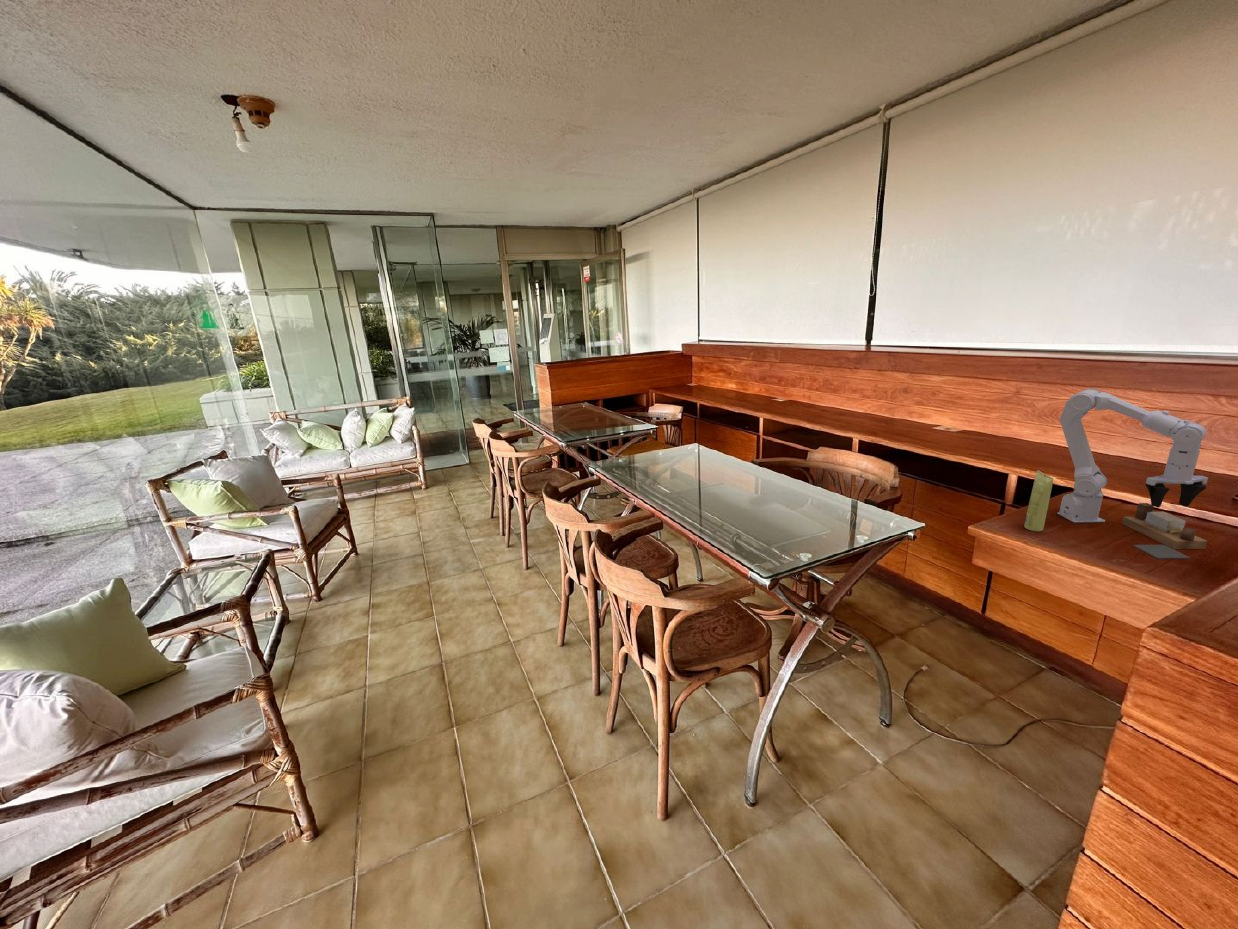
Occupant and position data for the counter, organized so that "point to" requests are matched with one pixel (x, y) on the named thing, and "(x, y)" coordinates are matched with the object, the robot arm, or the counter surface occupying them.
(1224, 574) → the counter surface
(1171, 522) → the lever cap
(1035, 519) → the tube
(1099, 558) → the counter surface
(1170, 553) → the rubber mat
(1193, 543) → the plane body
